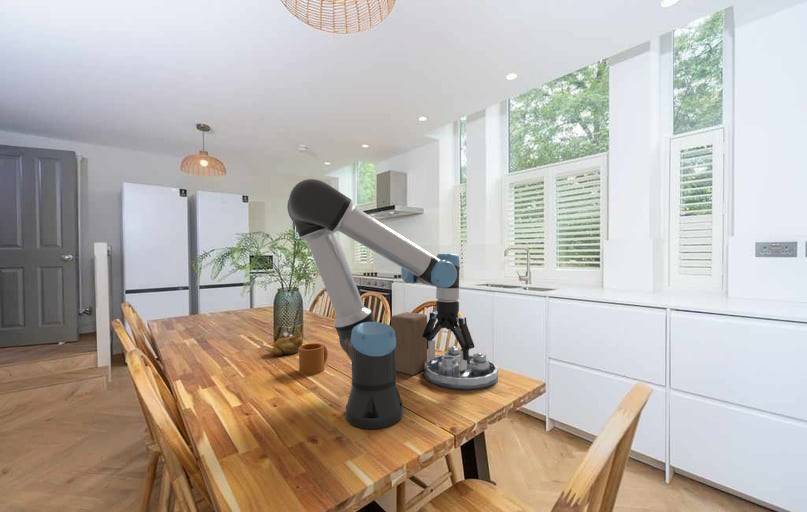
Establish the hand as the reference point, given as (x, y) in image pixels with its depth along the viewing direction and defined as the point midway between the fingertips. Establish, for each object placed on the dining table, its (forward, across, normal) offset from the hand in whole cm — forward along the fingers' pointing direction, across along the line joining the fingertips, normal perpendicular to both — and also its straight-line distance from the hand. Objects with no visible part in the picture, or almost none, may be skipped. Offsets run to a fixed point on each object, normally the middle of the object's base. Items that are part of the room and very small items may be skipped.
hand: (446, 364), depth 111 cm
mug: (+7, +40, +26) cm, 49 cm away
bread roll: (+7, +67, +26) cm, 72 cm away
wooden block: (+6, +16, +1) cm, 17 cm away
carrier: (+5, 0, -7) cm, 9 cm away
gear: (+4, 0, -1) cm, 4 cm away
